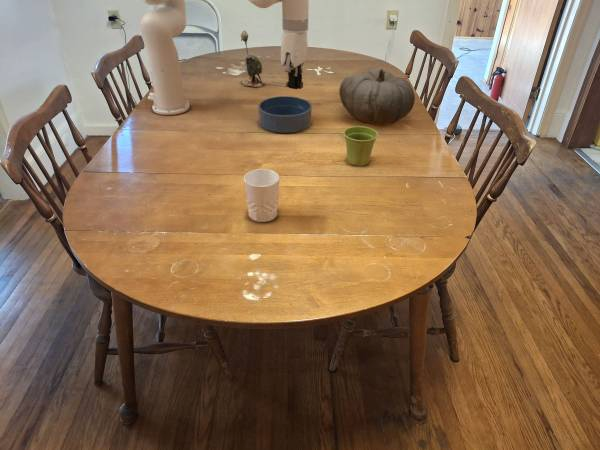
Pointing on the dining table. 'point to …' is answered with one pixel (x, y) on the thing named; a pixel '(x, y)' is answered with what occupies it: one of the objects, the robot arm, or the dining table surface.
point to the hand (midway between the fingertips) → (295, 86)
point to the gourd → (377, 97)
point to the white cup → (262, 194)
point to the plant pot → (359, 144)
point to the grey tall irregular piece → (252, 66)
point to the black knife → (286, 84)
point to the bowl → (285, 114)
